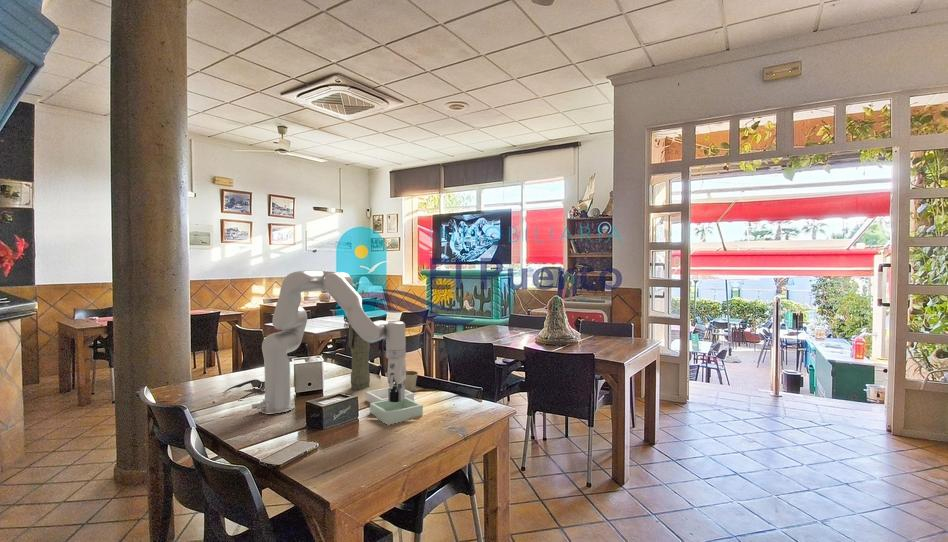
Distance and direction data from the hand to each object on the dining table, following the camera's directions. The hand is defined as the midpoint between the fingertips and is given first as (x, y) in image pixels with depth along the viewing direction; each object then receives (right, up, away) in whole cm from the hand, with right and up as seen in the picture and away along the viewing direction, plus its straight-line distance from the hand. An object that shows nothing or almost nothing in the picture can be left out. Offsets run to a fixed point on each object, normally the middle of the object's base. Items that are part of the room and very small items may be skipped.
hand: (396, 399), depth 170 cm
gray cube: (0, 0, 0) cm, 0 cm away
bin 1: (-6, -6, +16) cm, 18 cm away
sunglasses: (-75, -7, +30) cm, 81 cm away
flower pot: (0, -7, +34) cm, 34 cm away
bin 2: (0, -7, 0) cm, 7 cm away
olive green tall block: (-25, -7, +40) cm, 47 cm away
